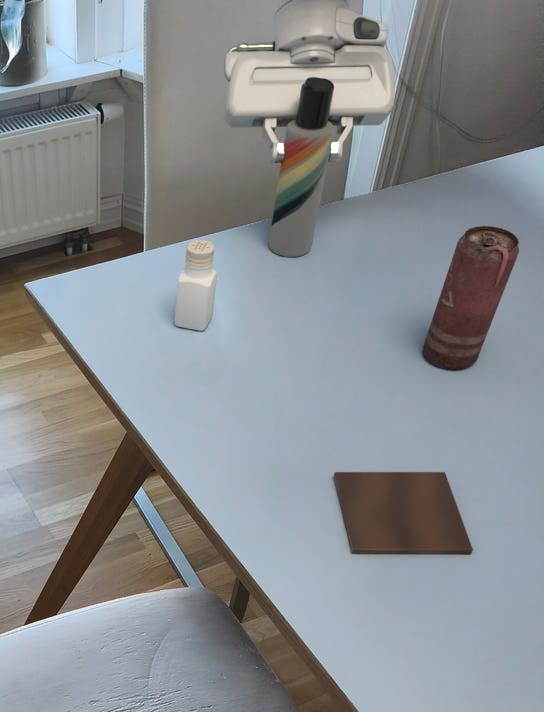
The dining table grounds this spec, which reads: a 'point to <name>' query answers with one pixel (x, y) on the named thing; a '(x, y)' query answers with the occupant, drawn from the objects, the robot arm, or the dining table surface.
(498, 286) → the can
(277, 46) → the robot arm
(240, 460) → the dining table surface
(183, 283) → the salt shaker
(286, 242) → the lotion bottle
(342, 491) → the walnut board
